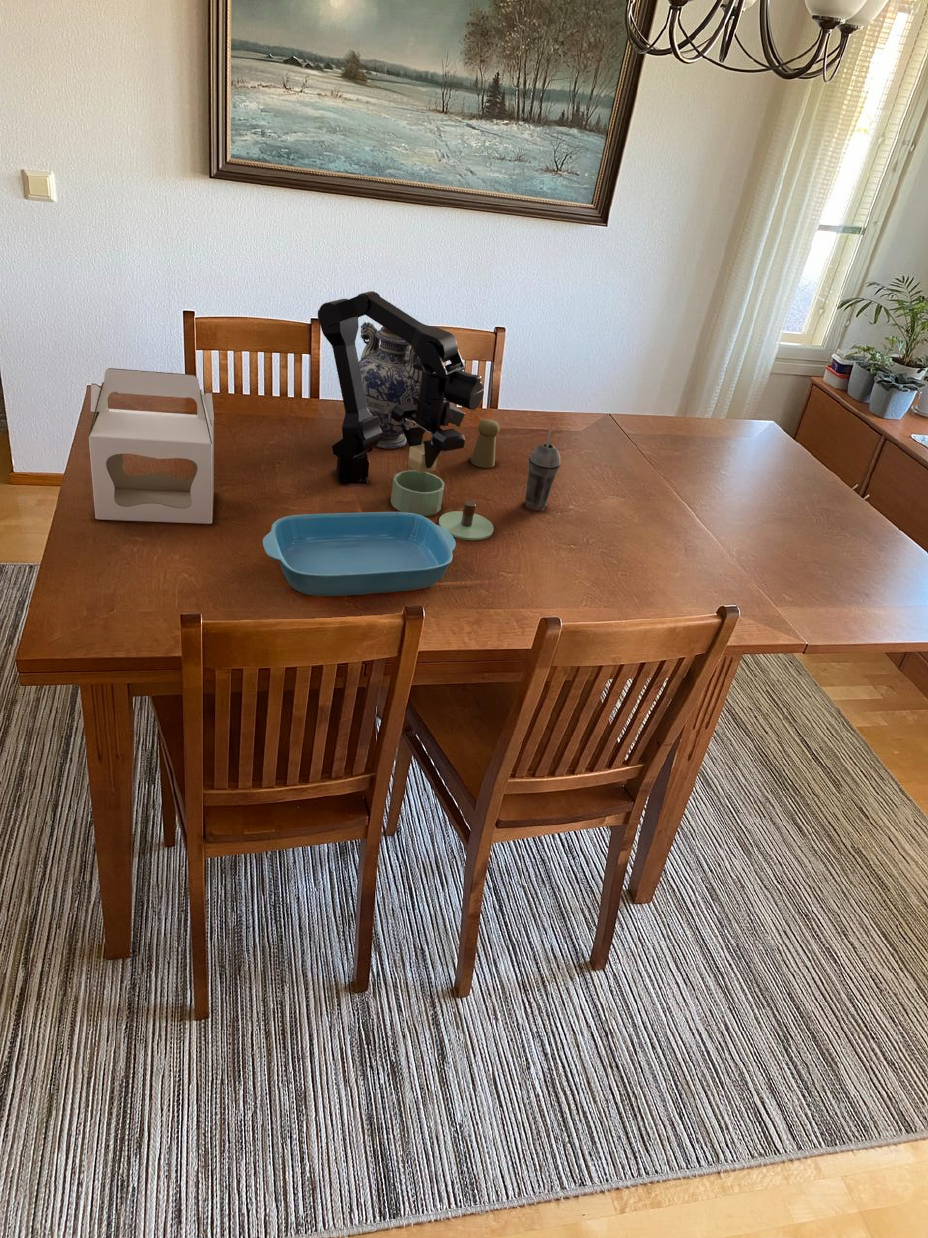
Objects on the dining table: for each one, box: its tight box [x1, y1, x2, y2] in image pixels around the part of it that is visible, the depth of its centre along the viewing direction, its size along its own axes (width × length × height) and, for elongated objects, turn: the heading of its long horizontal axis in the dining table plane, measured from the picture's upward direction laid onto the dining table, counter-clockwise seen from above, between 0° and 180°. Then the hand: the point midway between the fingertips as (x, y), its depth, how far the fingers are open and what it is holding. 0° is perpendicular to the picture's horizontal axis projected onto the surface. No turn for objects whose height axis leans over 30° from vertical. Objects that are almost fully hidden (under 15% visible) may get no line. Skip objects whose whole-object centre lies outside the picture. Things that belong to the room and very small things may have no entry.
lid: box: [438, 500, 495, 541], centre depth 191 cm, size 12×12×6 cm
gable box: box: [88, 367, 215, 525], centre depth 172 cm, size 22×13×28 cm, turn 102°
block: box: [407, 443, 438, 473], centre depth 192 cm, size 4×4×4 cm
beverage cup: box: [524, 427, 561, 512], centre depth 202 cm, size 7×7×20 cm
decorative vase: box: [358, 321, 422, 450], centre depth 218 cm, size 21×19×28 cm
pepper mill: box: [470, 418, 501, 469], centre depth 221 cm, size 6×6×11 cm
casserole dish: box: [262, 511, 457, 597], centre depth 170 cm, size 37×22×7 cm, turn 110°
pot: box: [390, 469, 446, 517], centre depth 197 cm, size 11×11×6 cm
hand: (422, 463), depth 193 cm, fingers closed on block, 4 cm apart
